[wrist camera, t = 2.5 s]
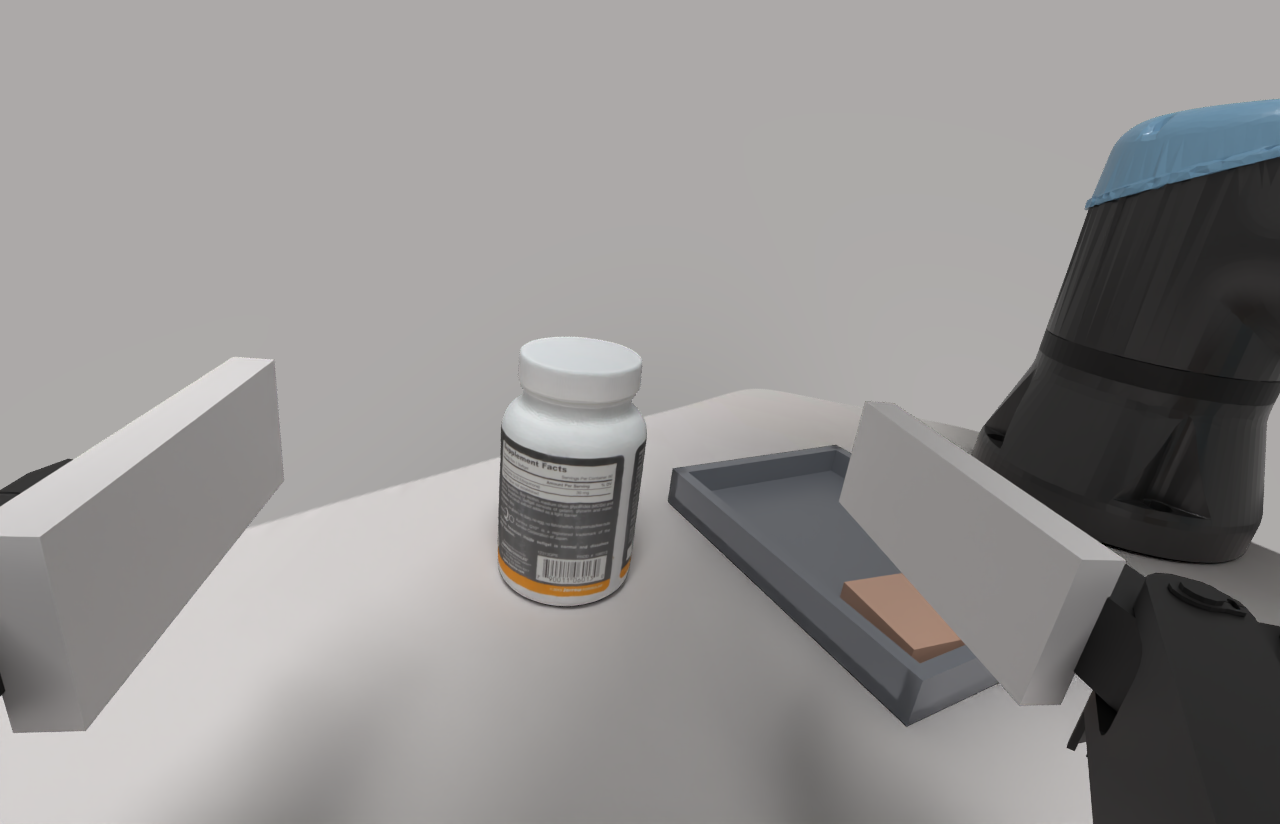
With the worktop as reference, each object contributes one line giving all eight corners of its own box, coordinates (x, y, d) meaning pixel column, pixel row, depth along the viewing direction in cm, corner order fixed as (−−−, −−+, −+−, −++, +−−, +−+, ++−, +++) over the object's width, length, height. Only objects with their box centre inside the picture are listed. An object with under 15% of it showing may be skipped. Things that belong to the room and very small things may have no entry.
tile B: (911, 593, 28) (919, 570, 28) (985, 657, 25) (995, 632, 24) (837, 605, 27) (844, 582, 26) (905, 675, 23) (914, 649, 23)
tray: (829, 473, 40) (836, 444, 40) (1092, 638, 27) (1110, 600, 27) (668, 501, 34) (672, 468, 34) (906, 726, 22) (922, 680, 21)
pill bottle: (550, 521, 31) (564, 325, 28) (651, 564, 29) (681, 355, 25) (467, 577, 27) (472, 348, 23) (581, 634, 24) (606, 388, 21)
